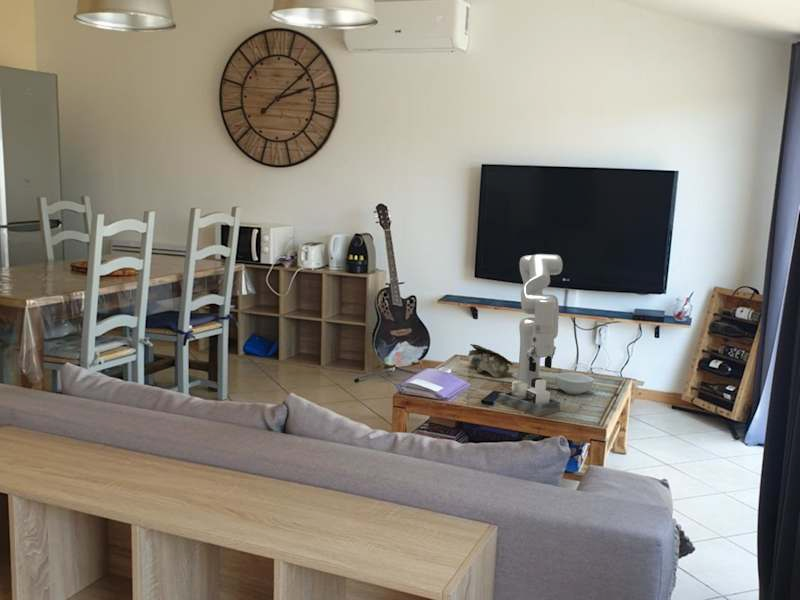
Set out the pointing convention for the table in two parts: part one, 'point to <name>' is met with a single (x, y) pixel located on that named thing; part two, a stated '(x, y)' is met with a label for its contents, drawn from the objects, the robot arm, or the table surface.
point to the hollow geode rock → (488, 361)
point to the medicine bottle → (538, 392)
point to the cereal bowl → (574, 382)
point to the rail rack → (518, 401)
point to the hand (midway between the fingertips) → (540, 369)
